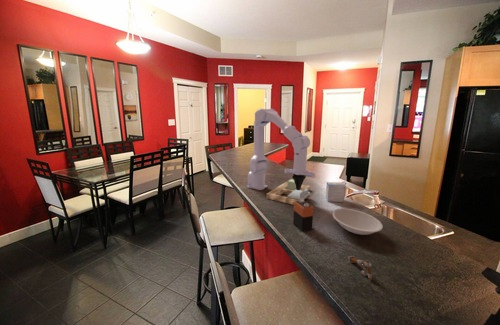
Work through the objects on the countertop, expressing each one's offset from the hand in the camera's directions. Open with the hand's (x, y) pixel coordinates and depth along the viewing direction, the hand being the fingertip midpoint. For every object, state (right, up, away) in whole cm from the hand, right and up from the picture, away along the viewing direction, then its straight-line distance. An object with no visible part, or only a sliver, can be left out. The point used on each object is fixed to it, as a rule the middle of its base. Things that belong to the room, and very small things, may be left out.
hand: (298, 189), depth 107 cm
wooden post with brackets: (+7, -17, -46) cm, 49 cm away
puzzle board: (-1, -4, +9) cm, 9 cm away
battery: (-4, -11, -23) cm, 26 cm away
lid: (0, -3, 0) cm, 3 cm away
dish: (+14, -12, -27) cm, 33 cm away
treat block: (0, -3, +14) cm, 14 cm away
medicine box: (+18, -6, +1) cm, 19 cm away
